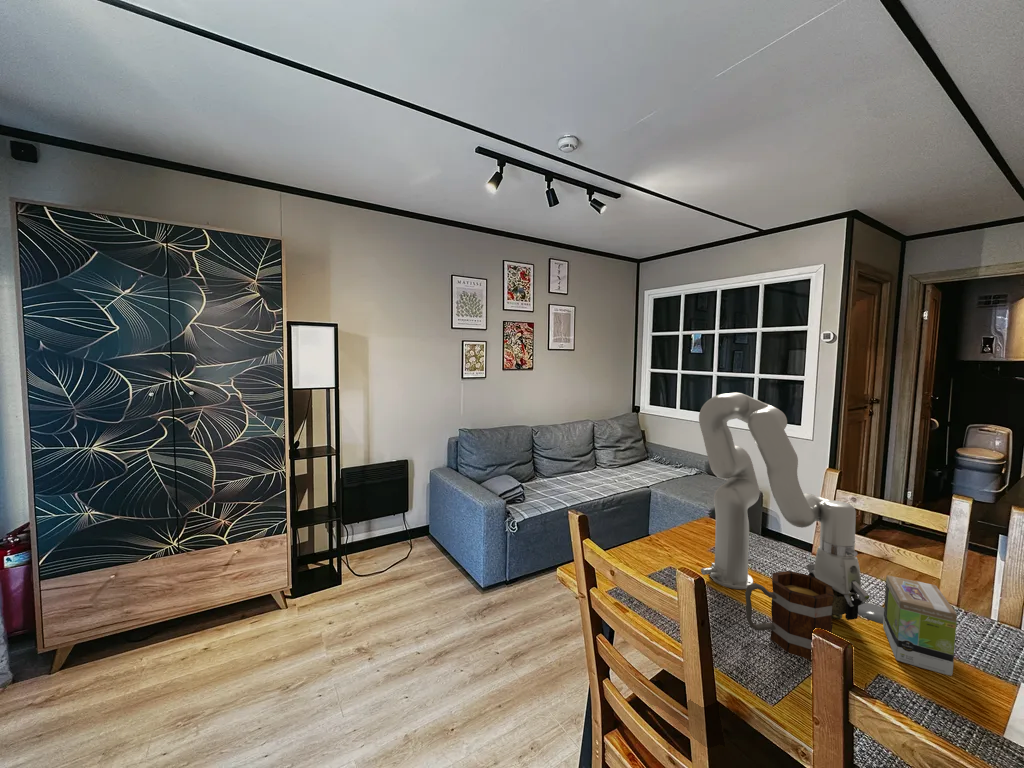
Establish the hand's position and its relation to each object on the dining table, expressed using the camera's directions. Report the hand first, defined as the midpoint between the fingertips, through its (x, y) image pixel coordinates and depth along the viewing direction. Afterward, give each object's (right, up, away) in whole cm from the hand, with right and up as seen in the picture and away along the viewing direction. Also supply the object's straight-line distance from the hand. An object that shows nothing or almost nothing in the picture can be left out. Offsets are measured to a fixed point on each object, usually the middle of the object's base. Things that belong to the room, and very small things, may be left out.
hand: (834, 608), depth 117 cm
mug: (-20, -3, -10) cm, 22 cm away
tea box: (+10, -3, -13) cm, 17 cm away
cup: (0, -3, 0) cm, 3 cm away
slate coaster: (+13, -3, +2) cm, 13 cm away
